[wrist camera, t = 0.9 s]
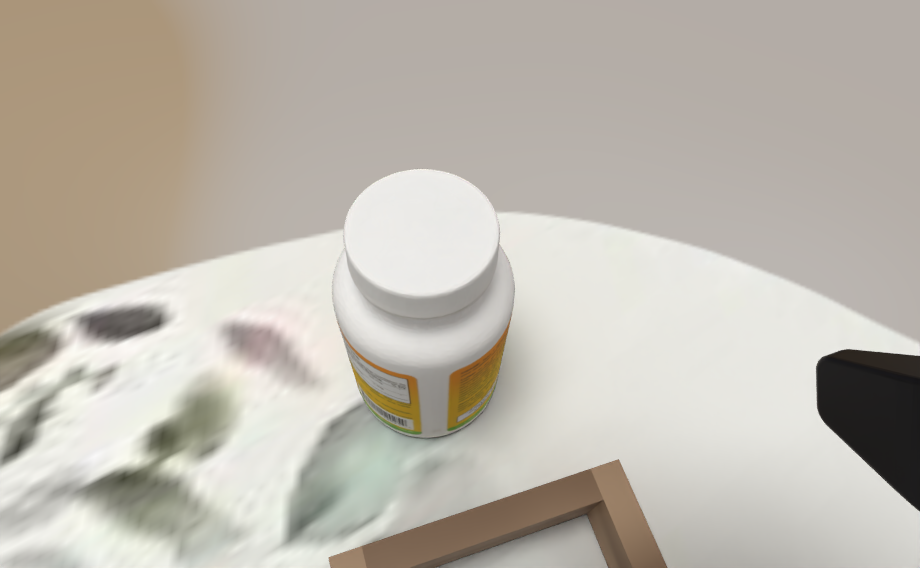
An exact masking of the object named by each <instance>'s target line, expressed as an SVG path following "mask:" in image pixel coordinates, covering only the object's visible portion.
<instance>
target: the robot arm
mask: <svg viewBox="0 0 920 568" xmlns="http://www.w3.org/2000/svg"><path fill="white" fill-rule="evenodd" d="M816 387H817V409H818V412H819V415H820V417H821V418H822V420H823V421H824V423H825V424H826V425H827V426H828V427H829V428H830V429H831V430H832V431H833V432H834V433H836V434H837V435H838V436H839V437H840V438H841V439H842V440H843V441H844V442H845V443H846V444H847V445H848V446H849V447H850V448H851V449H852V450H853V451H855V452H856V453H857V454H858V455H859V456H860V457H861V458H862V459H863V460H864V461H865V462H866V463H867V464H868V465H869V466H870V467H871V468H872V469H874V470H875V471H876V472H877V473H878V474H879V475H880V476H881V477H882V478H883V479H884V480H885V481H886V482H887V483H888V484H889V485H890V486H891V487H893V488H894V489H895V490H896V491H897V492H898V493H899V494H900V495H901V496H902V497H903V498H905V499H906V500H907V501H908V502H909V503H910V504H911V505H913V506H914V507H915V508H916V509H917V510H919V511H920V356H914V355H903V354H893V353H882V352H872V351H861V350H851V349H846V350H841V351H838V352H835V353H832V354H829V355H827V356H824V357H822V358H821V359H820V360H819V361H818V363H817V366H816Z"/></svg>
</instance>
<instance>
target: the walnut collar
mask: <svg viewBox="0 0 920 568" xmlns="http://www.w3.org/2000/svg"><path fill="white" fill-rule="evenodd" d="M585 514H587V516H588V518H589V521H590V523H591V525H592V528H593V530H594V533H595V535H596V538H597V540H598V543H599V545H600V548H601V550H602V553H603V555H604V557H605V560H606V562H607V565H608V567H609V568H667V566H666V564H665V561H664V559H663V557H662V555H661V552H660V550H659V548H658V546H657V544H656V541H655V539H654V537H653V535H652V532H651V530H650V528H649V526H648V523H647V521H646V519H645V517H644V515H643V512H642V510H641V508H640V506H639V503H638V501H637V499H636V497H635V494H634V492H633V490H632V488H631V486H630V483H629V481H628V479H627V477H626V474H625V472H624V470H623V468H622V465H621V463H620V461H619V459H618V460H615V461H612V462H609V463H606V464H603V465H600V466H597V467H595V468H592V469H589V470H586V471H583V472H580V473H577V474H574V475H571V476H568V477H565V478H562V479H559V480H556V481H553V482H550V483H547V484H544V485H541V486H538V487H535V488H532V489H529V490H527V491H524V492H521V493H518V494H515V495H512V496H509V497H506V498H503V499H500V500H497V501H494V502H491V503H488V504H485V505H482V506H479V507H476V508H473V509H470V510H467V511H464V512H461V513H459V514H456V515H453V516H450V517H447V518H444V519H441V520H438V521H435V522H432V523H429V524H426V525H423V526H420V527H417V528H414V529H411V530H408V531H405V532H402V533H399V534H396V535H393V536H391V537H388V538H385V539H382V540H379V541H376V542H373V543H370V544H367V545H364V546H361V547H358V548H355V549H352V550H349V551H346V552H343V553H340V554H337V555H334V556H331V557H329V562H330V567H331V568H435V567H438V566H440V565H443V564H446V563H449V562H452V561H455V560H457V559H460V558H463V557H466V556H469V555H472V554H474V553H477V552H480V551H483V550H486V549H489V548H491V547H494V546H497V545H500V544H503V543H506V542H508V541H511V540H514V539H517V538H520V537H523V536H525V535H528V534H531V533H534V532H537V531H540V530H543V529H545V528H548V527H551V526H554V525H557V524H560V523H562V522H565V521H568V520H571V519H574V518H577V517H579V516H582V515H585Z"/></svg>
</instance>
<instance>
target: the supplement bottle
mask: <svg viewBox="0 0 920 568" xmlns="http://www.w3.org/2000/svg"><path fill="white" fill-rule="evenodd" d="M343 237H344V246H345V248H344V249H343V251H342V253H341V255H340V257H339V259H338V261H337V264H336V267H335V270H334V274H333V281H332V299H333V306H334V311H335V314H336V318H337V322H338V325H339V328H340V331H341V334H342V337H343V340H344V343H345V346H346V350H347V353H348V356H349V360H350V363H351V366H352V369H353V372H354V375H355V379H356V382H357V385H358V388H359V391H360V393H361V395H362V397H363V399H364V401H365V403H366V405H367V407H368V408H369V409H370V411H371V412H372V413H373V414H374V416H375V417H376V418H377V419H378V420H380V421H381V422H382V423H383V424H385V425H386V426H387V427H389V428H391V429H393V430H395V431H397V432H399V433H401V434H405V435H408V436H413V437H421V438H432V437H439V436H444V435H448V434H450V433H453V432H455V431H458V430H460V429H461V428H463V427H465V426H466V425H468V424H469V423H470V422H472V421H473V420H474V419H475V418H476V417H477V416H478V415H479V414H480V413H481V412H482V411H483V410H484V409H485V407H486V406H487V404H488V402H489V400H490V399H491V396H492V394H493V391H494V389H495V386H496V382H497V378H498V374H499V369H500V364H501V359H502V355H503V351H504V346H505V342H506V337H507V333H508V329H509V324H510V320H511V315H512V310H513V304H514V293H515V285H514V277H513V272H512V268H511V265H510V262H509V260H508V258H507V256H506V254H505V252H504V250H503V249H502V247H501V246H500V244H499V241H500V227H499V222H498V218H497V215H496V213H495V210H494V208H493V206H492V204H491V203H490V201H489V200H488V198H487V197H486V196H485V195H484V194H483V193H482V192H481V191H480V190H479V189H478V188H477V187H476V186H474V185H473V184H471V183H470V182H468V181H467V180H465V179H463V178H461V177H458V176H456V175H453V174H451V173H447V172H442V171H438V170H430V169H415V170H407V171H402V172H398V173H395V174H392V175H389V176H386V177H384V178H382V179H380V180H378V181H376V182H375V183H373V184H372V185H370V186H369V187H368V188H366V189H365V190H364V191H363V192H362V193H361V194H360V196H358V198H357V199H356V200H355V201H354V203H353V205H352V206H351V208H350V210H349V212H348V214H347V218H346V221H345V225H344V235H343Z"/></svg>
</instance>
